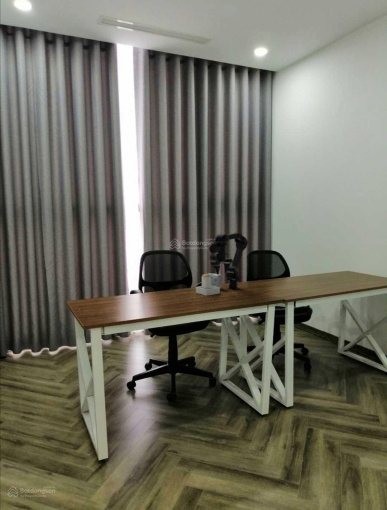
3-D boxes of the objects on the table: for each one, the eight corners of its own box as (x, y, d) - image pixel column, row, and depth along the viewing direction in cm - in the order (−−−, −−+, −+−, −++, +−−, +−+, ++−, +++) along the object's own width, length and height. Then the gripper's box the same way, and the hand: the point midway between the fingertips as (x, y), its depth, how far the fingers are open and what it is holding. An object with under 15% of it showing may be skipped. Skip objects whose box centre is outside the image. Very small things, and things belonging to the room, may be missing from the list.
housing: (209, 290, 267) (209, 284, 266) (219, 293, 257) (219, 287, 256) (196, 292, 260) (195, 287, 259) (206, 295, 250) (205, 289, 250)
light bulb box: (204, 288, 273) (204, 274, 272) (208, 287, 279) (208, 273, 278) (218, 290, 268) (217, 275, 267) (221, 288, 274) (221, 274, 273)
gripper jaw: (207, 290, 261) (206, 274, 260) (211, 291, 257) (211, 275, 256) (201, 291, 258) (201, 274, 257) (205, 292, 254) (205, 275, 253)
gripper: (220, 250, 271) (220, 271, 272) (204, 252, 257) (204, 274, 259) (233, 251, 263) (233, 272, 265) (216, 253, 249) (216, 276, 251)
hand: (221, 273), depth 260 cm, fingers open, 9 cm apart
